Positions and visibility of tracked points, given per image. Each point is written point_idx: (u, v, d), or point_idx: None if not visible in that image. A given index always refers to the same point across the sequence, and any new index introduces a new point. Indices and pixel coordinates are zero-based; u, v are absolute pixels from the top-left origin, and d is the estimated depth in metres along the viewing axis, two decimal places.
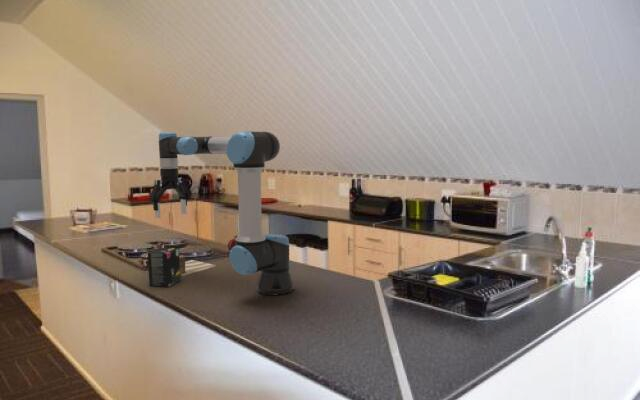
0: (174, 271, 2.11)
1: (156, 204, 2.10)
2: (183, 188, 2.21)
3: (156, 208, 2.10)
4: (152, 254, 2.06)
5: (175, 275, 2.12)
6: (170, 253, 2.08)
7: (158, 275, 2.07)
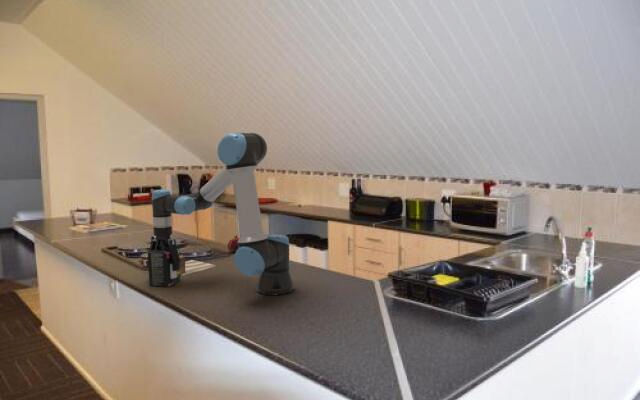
0: None
1: None
2: None
3: None
4: (152, 254, 2.06)
5: None
6: None
7: (158, 275, 2.07)
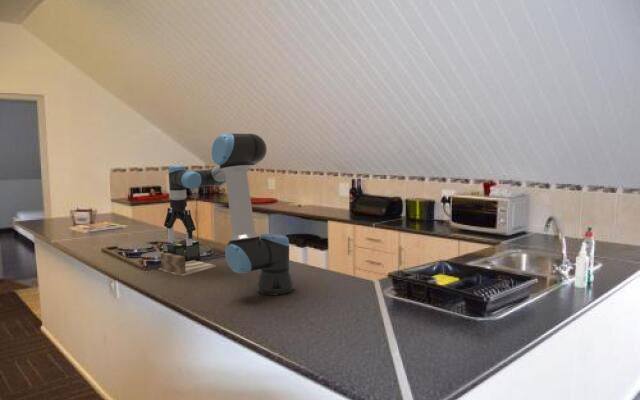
0: (177, 243, 2.47)
1: (168, 229, 2.34)
2: None
3: (168, 232, 2.34)
4: None
5: (174, 243, 2.45)
6: None
7: None
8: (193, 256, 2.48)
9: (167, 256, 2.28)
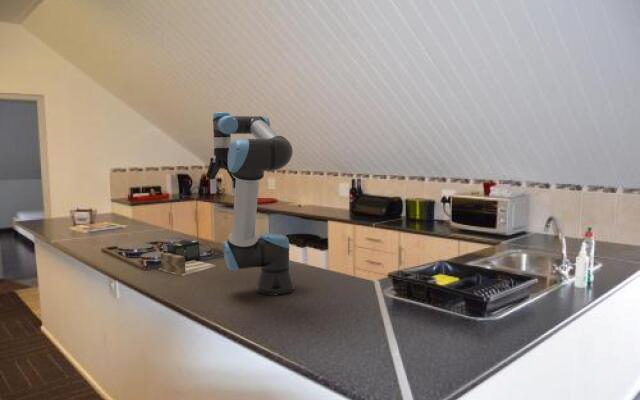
0: (177, 243, 2.47)
1: None
2: None
3: (210, 184, 2.26)
4: None
5: (174, 243, 2.45)
6: None
7: None
8: (193, 256, 2.48)
9: (167, 256, 2.28)
